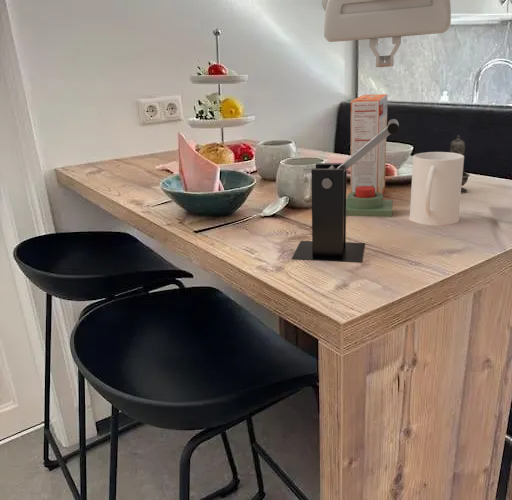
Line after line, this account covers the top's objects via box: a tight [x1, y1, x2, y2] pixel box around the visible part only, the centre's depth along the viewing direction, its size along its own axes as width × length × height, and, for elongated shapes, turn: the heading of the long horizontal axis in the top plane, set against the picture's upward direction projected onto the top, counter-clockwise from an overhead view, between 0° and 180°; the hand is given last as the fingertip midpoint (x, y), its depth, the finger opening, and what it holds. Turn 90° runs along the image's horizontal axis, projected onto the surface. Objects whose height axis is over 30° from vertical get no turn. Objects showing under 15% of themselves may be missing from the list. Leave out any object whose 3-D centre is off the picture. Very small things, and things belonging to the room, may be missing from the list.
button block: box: [346, 192, 393, 218], centre depth 94 cm, size 10×8×4 cm
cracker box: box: [350, 93, 388, 195], centre depth 103 cm, size 14×6×21 cm, turn 161°
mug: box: [408, 151, 465, 226], centre depth 85 cm, size 12×8×12 cm
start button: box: [355, 186, 375, 198], centre depth 93 cm, size 4×4×2 cm
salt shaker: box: [449, 134, 471, 194], centre depth 107 cm, size 6×6×12 cm
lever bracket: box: [291, 162, 366, 264], centre depth 73 cm, size 10×8×14 cm
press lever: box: [328, 118, 400, 172], centre depth 69 cm, size 13×5×2 cm
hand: (384, 66), depth 85 cm, fingers closed
